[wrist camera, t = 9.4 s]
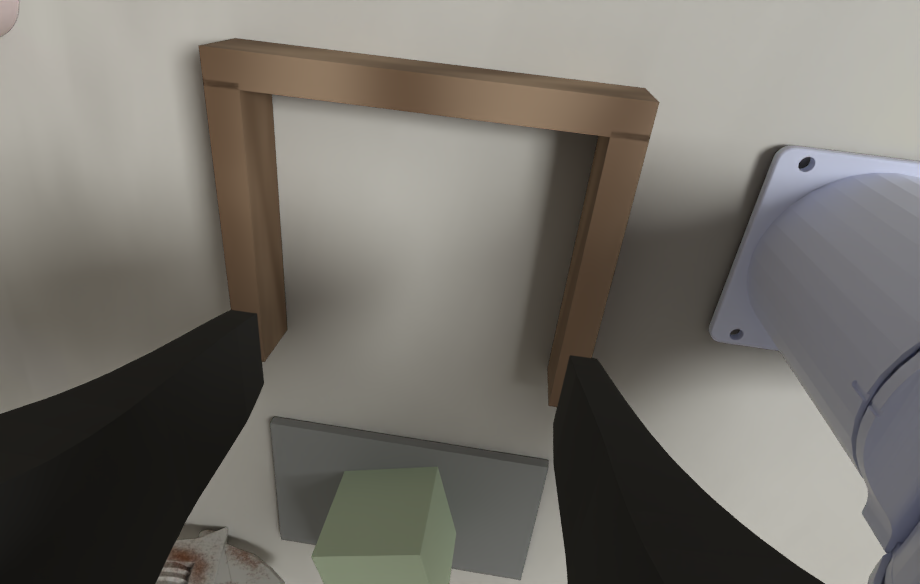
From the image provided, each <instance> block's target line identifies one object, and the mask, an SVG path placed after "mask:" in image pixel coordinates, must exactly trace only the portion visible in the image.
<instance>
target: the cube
mask: <svg viewBox="0 0 920 584" xmlns="http://www.w3.org/2000/svg"><path fill="white" fill-rule="evenodd" d="M455 539H456V530H455V527H454V523H453V519H452V516H451V512H450V509H449V505H448V501H447V498H446V494H445V491H444V487H443V483H442V480H441V476H440V473H439V469H438V467H418V468H397V469H376V470H356V471H345V472H344V474H343V477H342V479H341V482H340V484H339V487H338V490H337V492H336V495H335V497H334V500H333V502H332V505H331V508H330V510H329V513H328V515H327V518H326V520H325V523H324V526H323V528H322V531H321V533H320V536H319V539H318V541H317V544H316V546H315V549H314V551H313V554H312V559H313V561H314V563H315V566H316V568H317V570H318V572H319V574H320V576H321V578H322V581H323V583H324V584H449V581H450V574H451V567H452V560H453V553H454V546H455Z"/></svg>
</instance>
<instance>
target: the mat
mask: <svg viewBox="0 0 920 584" xmlns="http://www.w3.org/2000/svg"><path fill="white" fill-rule="evenodd" d="M270 427H271V438H272V449H273V459H274V470H275V481H276V491H277V502H278V513H279V524H280V534H281V539H282V540H288V541H294V542H300V543H306V544H312V545H316V544H317V541H318V539H319V536H320V533H321V531H322V528H323V526H324V523H325V520H326V518H327V515H328V513H329V510H330V508H331V505H332V502H333V500H334V497H335V495H336V492H337V490H338V487H339V484H340V482H341V479H342V477H343V474H344V472H345V471H356V470H376V469H397V468H418V467H438V469H439V473H440V476H441V480H442V483H443V487H444V491H445V494H446V498H447V501H448V505H449V509H450V512H451V516H452V519H453V523H454V527H455V530H456V539H455V546H454V553H453V560H452V567H451V568H452V569H458V570H464V571H470V572H475V573H481V574H487V575H493V576H499V577H505V578H511V579H516V580H521V577H522V573H523V569H524V564H525V560H526V556H527V552H528V548H529V544H530V540H531V536H532V532H533V528H534V524H535V520H536V516H537V512H538V508H539V504H540V500H541V496H542V492H543V488H544V484H545V480H546V475H547V471H548V460H544V459H538V458H531V457H525V456H519V455H513V454H506V453H500V452H494V451H487V450H481V449H475V448H469V447H462V446H456V445H450V444H443V443H437V442H431V441H424V440H418V439H412V438H406V437H399V436H393V435H387V434H380V433H374V432H368V431H362V430H355V429H349V428H343V427H336V426H330V425H324V424H318V423H311V422H305V421H299V420H292V419H286V418H280V417H274V418H273V419H272V421H271V423H270Z"/></svg>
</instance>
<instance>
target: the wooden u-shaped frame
mask: <svg viewBox="0 0 920 584" xmlns="http://www.w3.org/2000/svg"><path fill="white" fill-rule="evenodd" d="M199 52H200V60H201V69H202V77H203V85H204V93H205V101H206V109H207V117H208V126H209V134H210V142H211V150H212V158H213V166H214V174H215V183H216V191H217V199H218V207H219V215H220V223H221V231H222V240H223V248H224V256H225V264H226V272H227V280H228V288H229V296H230V305H231V310H235V311H243V312H250V313H257V317H258V327H259V338H260V348H261V359H262V362H265V361H266V359H267V358H268V356H269V355H270V354H271V352H272V351H273V349H274V348H275V347H276V345H277V344H278V342H279V341H280V339H281V338H282V337H283V335H284V334H285V332H286V331H287V317H286V302H285V287H284V272H283V256H282V241H281V226H280V211H279V196H278V181H277V165H276V150H275V135H274V120H273V105H272V94H275V95H282V96H290V97H298V98H306V99H314V100H322V101H330V102H337V103H345V104H353V105H361V106H369V107H377V108H385V109H393V110H400V111H408V112H416V113H424V114H432V115H440V116H448V117H456V118H463V119H471V120H479V121H487V122H495V123H503V124H511V125H518V126H526V127H534V128H542V129H550V130H558V131H566V132H574V133H581V134H589V135H597V136H598V140H597V145H596V149H595V154H594V159H593V163H592V168H591V172H590V177H589V181H588V186H587V190H586V195H585V200H584V204H583V209H582V213H581V218H580V222H579V227H578V232H577V236H576V241H575V245H574V250H573V254H572V259H571V264H570V268H569V273H568V277H567V282H566V286H565V291H564V296H563V300H562V305H561V309H560V314H559V318H558V323H557V327H556V332H555V337H554V341H553V346H552V350H551V355H550V359H549V364H548V369H547V371H548V404H549V406H554V407H557V406H558V402H559V398H560V394H561V389H562V385H563V381H564V377H565V373H566V369H567V364H568V360H569V356H570V355H572V356H580V357H587V358H592V355H593V351H594V347H595V343H596V340H597V336H598V332H599V328H600V324H601V321H602V317H603V313H604V309H605V306H606V302H607V298H608V294H609V290H610V287H611V283H612V279H613V275H614V272H615V268H616V264H617V260H618V256H619V253H620V249H621V245H622V241H623V238H624V234H625V230H626V226H627V222H628V219H629V215H630V211H631V207H632V203H633V200H634V196H635V192H636V188H637V185H638V181H639V177H640V173H641V169H642V166H643V162H644V158H645V154H646V151H647V147H648V143H649V139H650V135H651V132H652V128H653V124H654V120H655V117H656V113H657V109H658V105H659V102H658V101H657V100H656V99H655V98H654V97H653V96H652V95H651V94H650V93H649V92H648V91H647V90H646V89H645V88H638V87H630V86H622V85H614V84H606V83H597V82H589V81H581V80H573V79H565V78H556V77H548V76H540V75H532V74H524V73H515V72H507V71H499V70H491V69H483V68H474V67H466V66H458V65H450V64H442V63H433V62H425V61H417V60H409V59H401V58H392V57H384V56H376V55H368V54H360V53H351V52H343V51H335V50H327V49H319V48H310V47H302V46H294V45H286V44H278V43H270V42H261V41H253V40H245V39H237V38H235V39H230V40H225V41H220V42H215V43H210V44H204V45H199Z"/></svg>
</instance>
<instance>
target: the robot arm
mask: <svg viewBox="0 0 920 584" xmlns="http://www.w3.org/2000/svg"><path fill="white" fill-rule="evenodd" d="M805 157H810V163H809V164H808V166H806V167H805V168H801V169H799V168H798V166H799V162H800V161H801V160H802V159H803V158H805ZM735 329H740V331H739V333H737V334H734V335H731V334H730V333H731V331H733V330H735ZM709 333H710V335H711V337H712V338H713V339H714V340H715V341H717V342H721V343H728V344H735V345H742V346H749V347H756V348H763V349H770V350H777V351H780V353H781V354H782V356H783V357H784V359H785V360H786V362H787V363H788V365H789V366H790V368H791V369H792V371H793V372H794V374H795V375H796V377H797V379H798V380H799V382H800V383H801V385H802V386H803V388H804V389H805V391H806V392H807V394H808V395H809V397H810V398H811V400H812V401H813V403H814V404H815V406H816V408H817V409H818V411H819V412H820V414H821V415H822V417H823V418H824V420H825V421H826V423H827V424H828V426H829V427H830V429H831V430H832V432H833V434H834V435H835V437H836V438H837V440H838V441H839V443H840V444H841V446H842V447H843V449H844V450H845V452H846V453H847V455H848V456H849V458H850V459H851V461H852V463H853V464H854V466H855V467H856V469H857V470H858V472H859V473H860V475H861V476H862V477H863V478H864V481H865V483H866V486H867V488H868V499H867V503H866V505H865V507H864V509H863V511H862V515H863V516H864V518H865V519H866V521H867V523H868V524H869V526H870V528H871V529H872V531H873V533H874V534H875V536H876V537H877V539H878V541H879V542H880V544H881V546H882V547H883V549H884V551H885V552H886V553H887V554H886V555H884V556H883V557H882V558H881V559H880V561H879V562H878V563H877V565H876V566H875V568H874V569H873V571H872V573H871V574H870V576H869V579H868V584H920V161H915V160H907V159H899V158H891V157H883V156H875V155H867V154H859V153H851V152H843V151H835V150H827V149H819V148H811V147H803V146H795V145H790V146H785V147H783V148H781V149H780V150H779V151H777V152H776V154H775V156H774V157H773V159H772V162H771V165H770V167H769V170H768V173H767V175H766V178H765V181H764V183H763V186H762V188H761V191H760V194H759V196H758V199H757V202H756V204H755V207H754V209H753V212H752V215H751V217H750V220H749V223H748V225H747V228H746V231H745V233H744V236H743V238H742V241H741V244H740V246H739V249H738V252H737V254H736V257H735V259H734V262H733V265H732V267H731V270H730V273H729V275H728V278H727V281H726V283H725V286H724V288H723V291H722V294H721V296H720V299H719V302H718V304H717V307H716V309H715V312H714V315H713V317H712V320H711V323H710V325H709ZM263 384H264V379H263V369H262V359H261V348H260V338H259V327H258V317H257V313H250V312H243V311H235V310H230V311H228V312H226V313H224V314H222V315H220V316H218V317H216V318H214V319H212V320H210V321H208V322H206V323H205V324H203V325H201V326H199V327H197V328H195V329H194V330H192V331H190V332H188V333H186V334H184V335H183V336H181V337H179V338H177V339H175V340H173V341H171V342H170V343H168V344H166V345H164V346H162V347H160V348H159V349H157V350H155V351H153V352H151V353H149V354H147V355H145V356H143V357H141V358H139V359H137V360H135V361H133V362H130V363H128V364H126V365H124V366H122V367H120V368H118V369H116V370H114V371H112V372H110V373H108V374H106V375H103V376H101V377H99V378H97V379H94V380H92V381H90V382H87V383H85V384H83V385H80V386H78V387H75V388H73V389H70V390H68V391H65V392H63V393H60V394H57V395H55V396H52V397H49V398H47V399H44V400H41V401H38V402H35V403H32V404H29V405H26V406H23V407H20V408H17V409H14V410H11V411H8V412H5V413H2V414H0V584H156V582H157V580H158V577H159V575H160V573H161V571H162V569H163V567H164V564H165V562H166V560H167V558H168V556H169V554H170V552H171V550H172V548H173V546H174V544H175V542H176V540H177V538H178V536H179V534H180V532H181V530H182V528H183V526H184V524H185V522H186V520H187V518H188V516H189V514H190V513H191V511H192V509H193V507H194V506H195V504H196V502H197V500H198V499H199V497H200V496H201V494H202V493H203V491H204V489H205V488H206V486H207V485H208V483H209V481H210V480H211V478H212V477H213V475H214V474H215V472H216V470H217V469H218V467H219V466H220V464H221V462H222V461H223V459H224V458H225V456H226V455H227V453H228V451H229V450H230V448H231V447H232V445H233V443H234V442H235V440H236V438H237V437H238V435H239V434H240V432H241V430H242V429H243V427H244V425H245V424H246V422H247V420H248V418H249V416H250V414H251V412H252V410H253V408H254V405H255V403H256V401H257V399H258V396H259V394H260V391H261V389H262V387H263ZM553 458H554V471H555V479H556V487H557V495H558V502H559V509H560V517H561V524H562V532H563V539H564V547H565V554H566V565H567V579H568V584H825V583H823V582H822V581H820V580H818V579H817V578H815V577H814V576H812V575H811V574H809V573H808V572H806V571H805V570H803V569H802V568H800V567H799V566H797V565H796V564H794V563H793V562H792V561H790V560H789V559H787V558H786V557H785V556H783V555H782V554H781V553H779V552H778V551H777V550H775V549H774V548H773V547H771V546H770V545H768V544H767V543H766V542H764V541H763V540H762V539H760V538H759V537H758V536H757V535H755V534H754V533H753V532H752V531H750V530H749V529H748V528H747V527H745V526H744V525H743V524H742V523H740V522H739V521H738V520H737V519H736V518H734V517H733V516H732V515H731V514H730V513H729V512H728V511H726V510H725V509H724V508H723V507H722V506H721V505H719V504H718V503H717V502H716V501H715V500H714V499H713V498H711V497H710V496H709V495H708V494H707V493H706V492H705V491H704V490H703V489H702V488H701V487H700V486H699V485H698V484H697V483H696V482H695V481H694V480H693V479H692V478H691V477H690V476H689V475H688V474H687V473H686V472H685V471H684V470H683V469H682V468H681V467H680V466H679V465H678V464H677V463H676V462H675V461H674V460H673V459H672V458H671V457H670V456H669V454H668V453H667V452H666V451H665V450H664V449H663V448H662V446H661V445H660V444H659V443H658V442H657V441H656V439H655V438H654V437H653V436H652V435H651V433H650V432H649V431H648V430H647V428H646V427H645V426H644V425H643V423H642V422H641V421H640V419H639V418H638V417H637V415H636V414H635V413H634V411H633V410H632V409H631V407H630V406H629V405H628V403H627V402H626V400H625V399H624V398H623V396H622V395H621V393H620V392H619V390H618V389H617V387H616V386H615V385H614V383H613V382H612V380H611V379H610V377H609V376H608V374H607V373H606V371H605V370H604V368H603V367H602V365H601V364H600V362H599V361H598V360H597V359H595V358H587V357H580V356H572V355H570V356H569V360H568V364H567V369H566V373H565V377H564V381H563V385H562V389H561V394H560V398H559V402H558V406H557V410H556V414H555V419H554V423H553Z"/></svg>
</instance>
